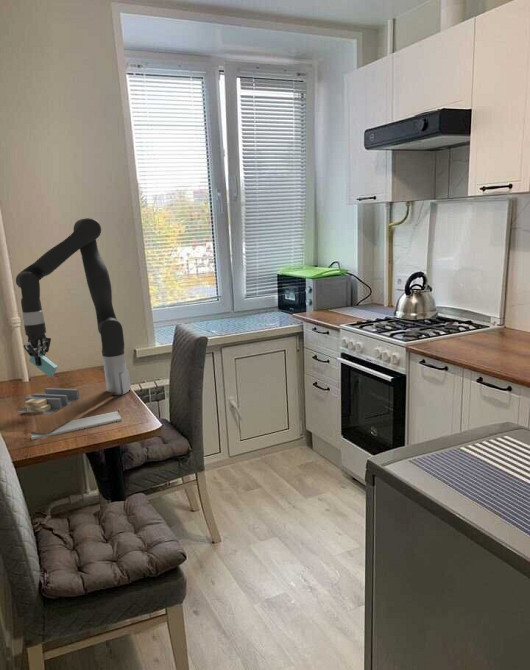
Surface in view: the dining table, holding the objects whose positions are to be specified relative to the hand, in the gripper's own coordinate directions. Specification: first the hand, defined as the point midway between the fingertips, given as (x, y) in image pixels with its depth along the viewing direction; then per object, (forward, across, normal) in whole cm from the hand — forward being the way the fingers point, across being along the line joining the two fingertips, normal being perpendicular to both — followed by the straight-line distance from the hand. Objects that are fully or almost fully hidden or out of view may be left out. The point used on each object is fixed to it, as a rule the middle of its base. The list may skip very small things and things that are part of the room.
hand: (41, 364), depth 203 cm
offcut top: (+15, -5, +1) cm, 16 cm away
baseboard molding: (+20, -13, -23) cm, 33 cm away
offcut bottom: (+17, -5, 0) cm, 18 cm away
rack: (+19, +1, 0) cm, 19 cm away
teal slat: (+3, 0, -6) cm, 6 cm away
